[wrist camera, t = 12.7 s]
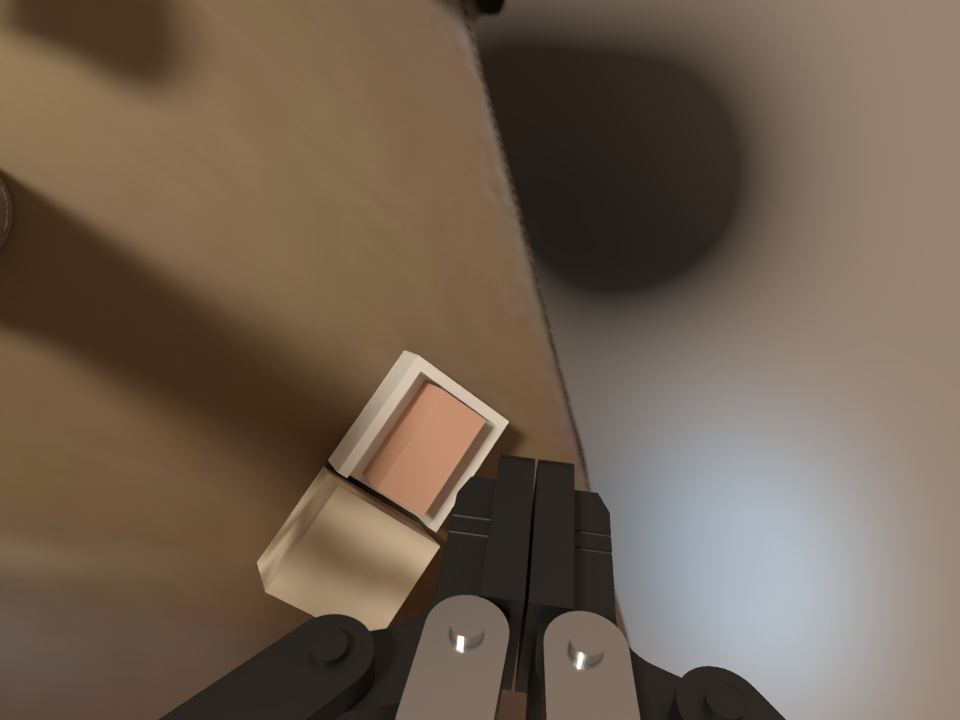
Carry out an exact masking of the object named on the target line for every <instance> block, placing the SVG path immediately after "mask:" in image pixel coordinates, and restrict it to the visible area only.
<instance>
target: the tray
mask: <svg viewBox="0 0 960 720" xmlns="http://www.w3.org/2000/svg"><path fill="white" fill-rule="evenodd" d="M424 381H425V382H427V383H429V384H431V385H434V386H436V387H438V388H440V389H442V390H444V391H445V392H447V393H448V394H450V395H451V396H453V397H454V398H455V399H457V400H458V401H460V402H461V403H462V404H464V405H465V406H467V407H468V408H470V409H471V410H472V411H474V412H475V413H477V414H478V415H479V416H481V417H482V418H484V419H485V420H486V422H485V423H484V425H483V426H482V428H481V429H480V431H479V432H478V434H477V435H476V437H475V438H474V440H473V441H472V443H471V445H470V446H469V448H468V449H467V451H466V452H465V454H464V455H463V457H462V458H461V460H460V461H459V463H458V464H457V466H456V467H455V469H454V470H453V472H452V474H451V475H450V477H449V478H448V480H447V481H446V483H445V484H444V486H443V487H442V489H441V490H440V492H439V493H438V495H437V496H436V498H435V500H434V501H433V503H432V504H431V506H430V507H429V509H428V510H427V512H426V513H425V515H424V516H423V517H421V516H419V515H418V514H416V513H414V512H413V511H411V510H409V509H408V508H406V507H404V506H403V505H401V504H399V503H398V502H396V501H394V500H393V499H391V498H389V497H388V496H386V495H384V494H383V493H381V492H379V491H378V490H376V489H375V487H374V486H373V485H372V484H371V483H370V482H369V481H368V480H367V479H366V478H365V476H364V475H363V474H362V473H363V471H364V470H365V468H366V467H367V465H368V464H369V462H370V461H371V459H372V458H373V456H374V455H375V453H376V452H377V450H378V449H379V447H380V446H381V444H382V443H383V441H384V440H385V438H386V437H387V435H388V434H389V432H390V431H391V429H392V428H393V427H394V425H395V424H396V422H397V421H398V419H399V418H400V416H401V415H402V413H403V412H404V410H405V409H406V407H407V406H408V404H409V403H410V401H411V400H412V398H413V397H414V395H415V394H416V392H417V391H418V389H419V388H420V386H421V385H422V383H423V382H424ZM508 423H509V421H508V420H506V419H505V418H504V417H502V416H501V415H499V414H498V413H497V412H495V411H494V410H493V409H491V408H490V407H488V406H487V405H486V404H484V403H483V402H482V401H480V400H479V399H478V398H476V397H475V396H473V395H472V394H471V393H469V392H468V391H467V390H465V389H464V388H463V387H461V386H460V385H458V384H457V383H456V382H454V381H453V380H452V379H450V378H449V377H447V376H446V375H445V374H443V373H442V372H441V371H439V370H438V369H437V368H435V367H434V366H432V365H431V364H430V363H428V362H427V361H426V360H424V359H423V358H421V357H420V356H419V355H416V354H414V353H411V352H408V351H406V350H404V351H403V353H402V354H401V356H400V357H399V358H398V360H397V361H396V363H395V364H394V366H393V367H392V369H391V370H390V371H389V373H388V374H387V376H386V377H385V379H384V380H383V382H382V383H381V384H380V386H379V387H378V389H377V390H376V392H375V393H374V394H373V396H372V397H371V399H370V400H369V402H368V403H367V405H366V406H365V407H364V409H363V410H362V412H361V413H360V415H359V416H358V418H357V419H356V420H355V422H354V423H353V425H352V426H351V428H350V429H349V431H348V432H347V433H346V435H345V436H344V438H343V439H342V441H341V442H340V444H339V445H338V446H337V448H336V449H335V451H334V452H333V454H332V455H331V456H330V458H329V459H328V461H329V462H330V464H331V465H332V466H333V467H334V469H335V470H336V471H337V472H338V473H339V474H341V475H342V476H344V477H346V478H348V476H349V475H350V476H352V477H354V478H355V479H357V480H358V481H360V482H362V483H363V484H365V485H367V486H368V487H370V488H372V489H373V490H375V491H377V492H378V493H380V494H381V495H383V496H385V497H386V498H388V499H390V500H391V501H393V502H395V503H396V504H398V505H400V506H401V507H403V508H404V509H406V510H408V511H409V512H411V513H413V514H414V515H416V516H417V517H418V518H419V519H420V520H421V521H422V522H423V523H424V524H425V525H426V526H427V527H428V528H430V529H432V530H433V531H435V532H437V530H438V529H439V527H440V526H441V524H442V523H443V521H444V520H445V518H446V517H447V515H448V514H449V512H450V511H451V509H452V508H453V506H454V505H455V500H456V495H457V492H458V491H459V490H460V489H461V488H462V486H463V485H464V484H465V483H466V482H467V481H468V479H469V478H470V477H471V476H472V477H473V476H474V474H475V473H476V471H477V470H478V468H479V467H480V465H481V464H482V462H483V461H484V459H485V458H486V456H487V455H488V453H489V451H490V450H491V448H492V447H493V445H494V444H495V442H496V441H497V439H498V438H499V436H500V435H501V433H502V432H503V430H504V429H505V427H506V426H507V424H508Z"/></svg>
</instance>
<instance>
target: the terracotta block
mask: <svg viewBox="0 0 960 720" xmlns="http://www.w3.org/2000/svg"><path fill="white" fill-rule="evenodd" d="M485 422H486V420H485V419H484V418H482V417H481V416H479V415H478V414H477V413H475V412H474V411H472V410H471V409H470V408H468V407H467V406H465V405H464V404H462V403H461V402H460V401H458V400H457V399H455V398H454V397H453V396H451V395H450V394H448V393H447V392H445V391H444V390H442V389H440V388H438V387H436V386H434V385H431V384H429V383H427V382H425V381H424V382H423V383H422V385H421V386H420V388H419V389H418V391H417V392H416V394H415V395H414V397H413V398H412V400H411V401H410V403H409V404H408V406H407V407H406V409H405V410H404V412H403V413H402V415H401V416H400V418H399V419H398V421H397V422H396V424H395V425H394V427H393V428H392V429H391V431H390V432H389V434H388V435H387V437H386V438H385V440H384V441H383V443H382V444H381V446H380V447H379V449H378V450H377V452H376V453H375V455H374V456H373V458H372V459H371V461H370V462H369V464H368V465H367V467H366V468H365V470H364V471H363V473H362V474H363V475H364V476H365V478H366V479H367V480H368V481H369V482H370V483H371V484H372V485H373V486H374V487H375V489H376V490H378V491H379V492H381V493H383V494H384V495H386V496H388V497H389V498H391V499H393V500H394V501H396V502H398V503H399V504H401V505H403V506H404V507H406V508H408V509H409V510H411V511H413V512H414V513H416V514H418V515H419V516H421V517H423V516H424V515H425V513H426V512H427V510H428V509H429V507H430V506H431V504H432V503H433V501H434V500H435V498H436V496H437V495H438V493H439V492H440V490H441V489H442V487H443V486H444V484H445V483H446V481H447V480H448V478H449V477H450V475H451V474H452V472H453V470H454V469H455V467H456V466H457V464H458V463H459V461H460V460H461V458H462V457H463V455H464V454H465V452H466V451H467V449H468V448H469V446H470V445H471V443H472V441H473V440H474V438H475V437H476V435H477V434H478V432H479V431H480V429H481V428H482V426H483V425H484V423H485Z"/></svg>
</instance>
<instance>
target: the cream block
mask: <svg viewBox="0 0 960 720" xmlns="http://www.w3.org/2000/svg"><path fill="white" fill-rule="evenodd" d="M439 547H440V546H439V544H438V543H437V542H436V541H435V540H434V539H433V538H432V537H431V536H430V535H429V534H428V533H427V532H426V531H425V530H424V529H423V528H422V527H421V526H420V525H419V523H417V522H415V521H414V520H412V519H411V518H409V517H407V516H406V515H404V514H402V513H401V512H399V511H397V510H396V509H394V508H392V507H391V506H389V505H387V504H386V503H384V502H382V501H381V500H379V499H377V498H376V497H374V496H372V495H371V494H369V493H368V492H366V491H364V490H363V489H361V488H359V487H358V486H356V485H354V484H353V483H351V482H349V481H348V480H346V479H344V478H343V477H341V476H339V475H338V474H336V473H334V472H333V471H331V470H329V469H328V468H326V467H325V466H324V467H323V468H322V469H321V471H320V472H319V474H318V475H317V477H316V478H315V480H314V481H313V482H312V484H311V485H310V487H309V488H308V490H307V491H306V493H305V494H304V495H303V497H302V498H301V500H300V501H299V503H298V504H297V506H296V507H295V508H294V510H293V511H292V513H291V514H290V516H289V517H288V518H287V520H286V521H285V523H284V524H283V526H282V527H281V529H280V530H279V531H278V533H277V534H276V536H275V537H274V539H273V540H272V542H271V543H270V544H269V546H268V547H267V549H266V550H265V552H264V553H263V555H262V556H261V557H260V559H259V560H258V562H257V565H258V568H259V572H260V575H261V579H262V582H263V586H264V589H265V592H266V593H268V594H270V595H272V596H274V597H276V598H278V599H280V600H282V601H284V602H286V603H288V604H290V605H292V606H294V607H296V608H298V609H300V610H303V611H305V612H307V613H309V614H311V615H313V616H315V617H318V616H323V615H328V614H342V615H347V616H350V617H353V618H355V619H357V620H359V621H360V622H361V623H363V624H364V625H365V626H366V627H367V629H368V630H369V631H372V630H379V629H385V628H387V627H388V625H389V624H390V622H391V621H392V619H393V618H394V616H395V615H396V613H397V611H398V610H399V608H400V607H401V605H402V604H403V602H404V601H405V599H406V598H407V596H408V595H409V593H410V592H411V590H412V589H413V587H414V586H415V584H416V582H417V581H418V579H419V578H420V576H421V575H422V573H423V572H424V570H425V569H426V567H427V566H428V564H429V563H430V561H431V560H432V558H433V557H434V555H435V553H436V552H437V550H438V549H439Z"/></svg>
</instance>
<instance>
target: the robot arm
mask: <svg viewBox="0 0 960 720" xmlns="http://www.w3.org/2000/svg"><path fill="white" fill-rule="evenodd" d="M12 221H13V207H12V200H11V197H10V194H9V192H8V189H7V186H6V185H5V183H4V182H3V180H2V179H1V177H0V249H1V247H2V246H3V244H4V243H5V242H6V240H7V238H8V236H9V233H10V230H11V228H12ZM534 471H535V459H533V458H525V457H517V456H509V455H501V454H500V458H499V465H498V472H497V479H496V480H495V479H488V478H480V477H472V476H471V477H470V478H469V479H468V481H467V482H466V483H465V484H464V485H463V486H462V488H461V489H460V490H459V491H458V492H457V495H456V500H455V505H454V509H453V515H452V519H451V523H450V528H449V533H448V537H447V542H446V547H445V551H444V556H443V561H442V565H441V570H440V575H439V579H438V584H437V589H436V593H435V596H434V599H433V601H432V603H431V604H430V606H429V607H428V608H427V610H426V611H425V612H424V613H423V614H422V615H420V616H419V617H417V618H416V619H415V620H413V621H411V622H409V623H406V624H404V625H401V626H396V627H392V628H385V629H379V630H372V631H369V630H368V629H367V627H366V626H365V625H364V624H363V623H361V622H360V621H359V620H357V619H355V618H353V617H350V616H347V615H342V614H328V615H323V616H318V617H316V618H313V619H311V620H309V621H307V622H306V623H304V624H302V625H301V626H299V627H298V628H296V629H295V630H293V631H292V632H290V633H289V634H287V635H286V636H284V637H283V638H281V639H280V640H278V641H277V642H275V643H274V644H272V645H271V646H269V647H268V648H266V649H265V650H263V651H261V652H260V653H258V654H257V655H255V656H254V657H252V658H251V659H249V660H248V661H246V662H245V663H243V664H242V665H240V666H239V667H237V668H236V669H234V670H233V671H231V672H230V673H228V674H227V675H225V676H224V677H222V678H221V679H219V680H218V681H216V682H215V683H213V684H212V685H210V686H209V687H207V688H206V689H204V690H202V691H201V692H199V693H198V694H196V695H195V696H193V697H192V698H190V699H189V700H187V701H186V702H184V703H183V704H181V705H180V706H178V707H177V708H175V709H174V710H172V711H171V712H169V713H168V714H166V715H165V716H163V717H162V718H160V719H159V720H498V714H499V706H500V699H501V692H502V689H506V690H511V688H512V681H513V675H514V668H515V661H516V655H517V648H518V660H517V672H516V684H515V691H517V692H524V693H527V705H526V720H785V718H784V717H783V716H782V715H781V714H780V713H779V712H778V711H776V709H775V708H774V707H773V706H772V705H771V704H770V703H769V702H768V701H767V700H766V699H765V698H764V697H763V696H762V695H761V694H760V693H759V692H758V691H757V690H756V689H755V688H754V687H753V686H752V685H751V684H749V682H747V681H746V680H745V679H743V678H742V677H740V676H739V675H737V674H735V673H733V672H731V671H729V670H726V669H723V668H719V667H712V666H711V667H710V666H706V667H698V668H695V669H693V670H691V671H689V672H687V673H686V674H685V675H684V676H683V677H682V678H681V677H678V676H676V675H674V674H672V673H670V672H667V671H665V670H663V669H661V668H659V667H656V666H654V665H652V664H650V663H648V662H646V661H645V660H644V659H642V658H641V657H639V656H638V655H637V654H636V653H635V652H633V651H632V650H631V648H630V647H629V646H628V643H627V641H626V639H625V637H624V635H623V634H622V632H621V631H620V630H619V629H618V627H617V623H616V613H615V596H614V579H613V563H612V555H611V553H612V547H611V538H610V536H611V530H610V514H609V511H608V509H607V508H606V506H605V504H604V503H603V501H602V499H601V498H600V496H599V494H598V493H594V492H586V491H579V490H574V464H571V463H563V462H555V461H547V460H539V459H538V463H537V470H536V477H535V484H534ZM533 484H534V491H533ZM532 497H533V498H532ZM518 641H519V647H518Z"/></svg>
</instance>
